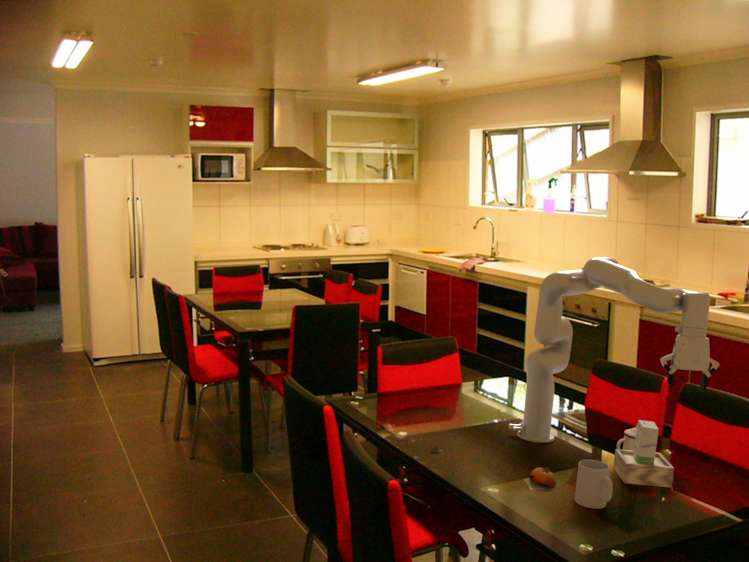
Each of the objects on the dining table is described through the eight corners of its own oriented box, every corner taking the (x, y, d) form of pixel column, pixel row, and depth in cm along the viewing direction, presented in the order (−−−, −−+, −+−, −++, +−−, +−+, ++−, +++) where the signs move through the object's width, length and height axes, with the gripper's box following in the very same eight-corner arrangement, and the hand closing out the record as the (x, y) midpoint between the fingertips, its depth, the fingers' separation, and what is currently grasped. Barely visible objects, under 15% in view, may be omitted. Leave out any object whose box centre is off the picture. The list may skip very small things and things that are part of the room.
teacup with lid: (639, 455, 269) (643, 421, 268) (656, 464, 261) (660, 429, 259) (607, 456, 266) (611, 421, 265) (623, 465, 257) (627, 430, 256)
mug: (568, 498, 225) (572, 460, 224) (592, 495, 229) (596, 458, 228) (596, 515, 215) (600, 475, 213) (621, 512, 218) (625, 473, 217)
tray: (624, 483, 241) (626, 463, 240) (613, 467, 255) (615, 449, 254) (671, 487, 240) (674, 468, 240) (658, 471, 254) (660, 452, 253)
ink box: (632, 455, 252) (636, 419, 250) (649, 457, 251) (654, 420, 250) (637, 464, 243) (641, 426, 242) (655, 466, 243) (659, 428, 241)
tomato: (552, 486, 230) (539, 463, 233) (533, 497, 233) (521, 474, 236) (563, 483, 236) (550, 461, 239) (544, 494, 239) (532, 472, 242)
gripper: (667, 332, 241) (661, 388, 242) (726, 336, 239) (720, 392, 241) (660, 328, 248) (654, 382, 250) (717, 332, 247) (711, 387, 249)
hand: (686, 387), depth 246 cm, fingers open, 9 cm apart
